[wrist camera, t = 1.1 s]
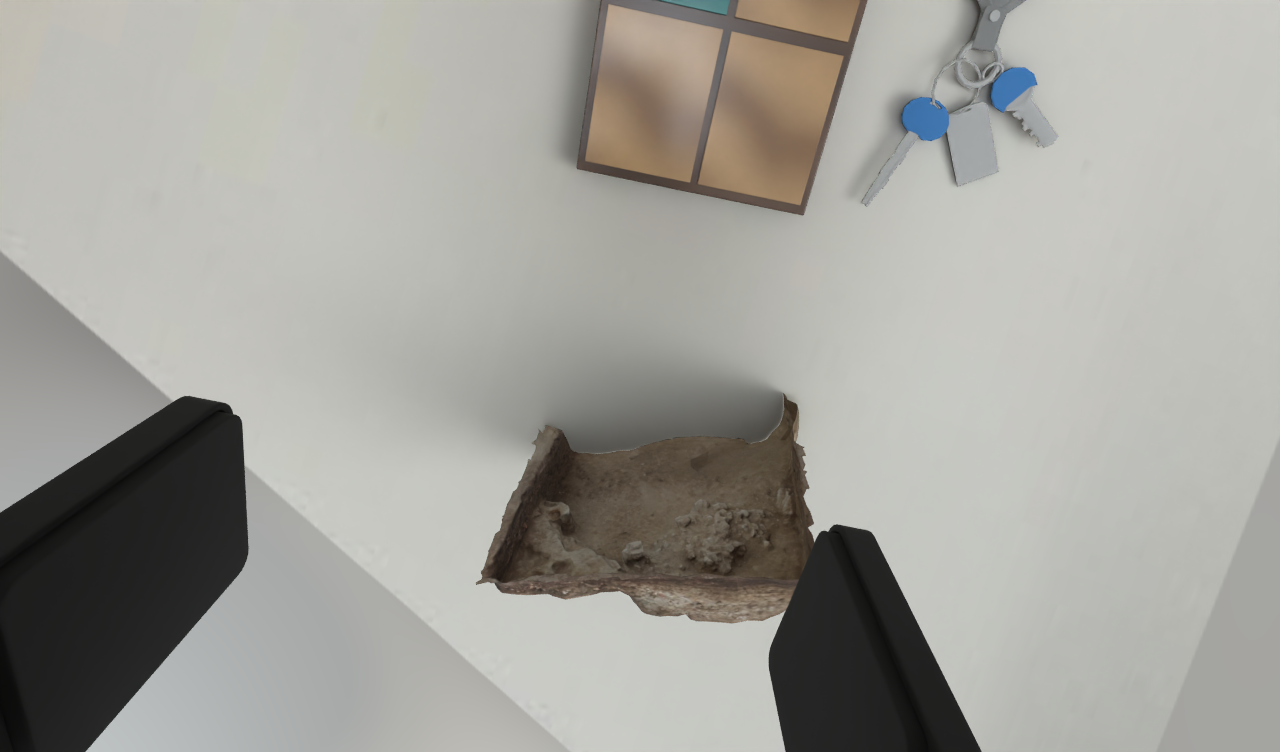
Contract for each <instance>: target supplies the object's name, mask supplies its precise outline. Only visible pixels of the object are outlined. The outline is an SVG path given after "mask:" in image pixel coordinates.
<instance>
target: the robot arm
mask: <svg viewBox="0 0 1280 752" xmlns="http://www.w3.org/2000/svg"><path fill="white" fill-rule="evenodd" d="M247 556H248V530H247V510H246V490H245V470H244V450H243V430H242V421H241V419H240V417H239V416H237V415H234V414H233V412H232V409H231V407H230V406H229V405H227V404H226V403H222V402H217V401H212V400H206V399H201V398H196V397H191V396H184V397H181V398H179V399H177V400H176V401H174V402H172V403H171V404H170V405H168V406H166V407H165V408H163V409H162V410H160V411H159V412H157V413H155V414H154V415H152V416H151V417H149V418H148V419H146V420H144V421H143V422H141V423H140V424H138V425H137V426H135V427H133V428H132V429H130V430H129V431H127V432H126V433H124V434H123V435H121V436H119V437H118V438H116V439H115V440H113V441H112V442H110V443H108V444H107V445H106V446H104V447H102V448H101V449H99V450H97V451H96V452H95V453H93V454H91V455H90V456H88V457H87V458H85V459H83V460H82V461H80V462H79V463H77V464H76V465H74V466H72V467H71V468H69V469H68V470H66V471H65V472H63V473H62V474H60V475H58V476H57V477H55V478H54V479H52V480H51V481H49V482H47V483H46V484H44V485H43V486H41V487H40V488H38V489H37V490H35V491H33V492H32V493H30V494H29V495H27V496H26V497H24V498H23V499H21V500H19V501H18V502H16V503H15V504H13V505H12V506H10V507H9V508H7V509H5V510H4V511H2V512H1V513H0V752H85V751H86V750H87V749H88V748H89V747H90V746H91V745H92V744H93V742H94V741H95V740H96V739H97V738H98V737H99V735H100V734H101V733H102V732H103V731H104V730H105V728H106V727H107V726H108V725H109V724H110V723H111V722H112V720H113V719H114V718H115V717H116V716H117V715H118V713H119V712H120V711H121V710H122V709H123V708H124V706H125V705H126V704H127V703H128V702H129V701H130V699H131V698H132V697H133V696H134V695H135V694H136V693H137V691H138V690H139V689H140V688H141V687H142V686H143V685H144V683H145V682H146V681H147V680H148V679H149V678H150V676H151V675H152V674H153V673H154V672H155V671H156V669H157V668H158V667H159V666H160V665H161V664H162V663H163V661H164V660H165V659H166V658H167V657H168V656H169V654H170V653H171V652H172V651H173V650H174V649H175V647H176V646H177V645H178V644H179V643H180V642H181V641H182V639H183V638H184V637H185V636H186V635H187V634H188V633H189V631H190V630H191V629H192V628H193V627H194V625H195V624H196V623H197V622H198V621H199V620H200V619H201V617H202V616H203V615H204V614H205V613H206V612H207V610H208V609H209V608H210V607H211V606H212V605H213V604H214V602H215V601H216V600H217V599H218V598H219V597H220V595H221V594H222V593H223V592H224V591H225V590H226V589H227V587H228V586H229V585H230V584H231V583H232V582H233V581H234V579H235V578H236V577H237V576H238V575H239V573H240V572H241V571H242V568H243V567H244V565H245V562H246V560H247ZM769 671H770V676H771V681H772V686H773V691H774V696H775V701H776V706H777V711H778V716H779V721H780V726H781V731H782V736H783V741H784V746H785V751H786V752H981V749H980V747H979V745H978V743H977V741H976V739H975V737H974V735H973V733H972V731H971V729H970V727H969V725H968V723H967V721H966V719H965V717H964V715H963V713H962V711H961V709H960V707H959V705H958V703H957V701H956V699H955V697H954V695H953V693H952V691H951V689H950V687H949V685H948V683H947V681H946V679H945V677H944V675H943V673H942V671H941V669H940V667H939V665H938V663H937V661H936V659H935V657H934V655H933V653H932V651H931V649H930V647H929V645H928V643H927V641H926V639H925V637H924V635H923V633H922V631H921V629H920V627H919V625H918V623H917V621H916V619H915V617H914V615H913V613H912V611H911V609H910V607H909V605H908V603H907V601H906V599H905V597H904V595H903V593H902V591H901V589H900V587H899V585H898V583H897V581H896V579H895V577H894V575H893V573H892V571H891V569H890V567H889V565H888V563H887V561H886V559H885V557H884V555H883V553H882V551H881V549H880V547H879V545H878V543H877V541H876V539H875V537H874V535H873V534H872V533H871V532H870V531H868V530H863V529H857V528H852V527H847V526H842V525H833V526H832V527H831V528H830V530H829V532H827V531H821V532H820V533H819V535H818V536H817V538H816V541H815V543H814V545H813V548H812V550H811V553H810V555H809V557H808V560H807V562H806V564H805V567H804V569H803V571H802V574H801V576H800V578H799V581H798V583H797V585H796V588H795V590H794V592H793V595H792V597H791V600H790V602H789V604H788V607H787V609H786V611H785V614H784V616H783V618H782V621H781V623H780V625H779V628H778V630H777V632H776V635H775V637H774V639H773V642H772V644H771V647H770V652H769Z"/></svg>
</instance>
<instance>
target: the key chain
mask: <svg viewBox="0 0 1280 752" xmlns="http://www.w3.org/2000/svg"><path fill="white" fill-rule="evenodd" d="M1024 1H1026V0H977V2H978V4H979V6H980V9H981V13H980V16H979V20H978V24H977V27H976V29H975V32H974V34H973V37H972V39H971V41H970V42H969V43H968V44H966V45H965V46H963V48H962V49H961V51H960V52H959V54H958V55H957V57H956V60H953V61H952V62H950V63H949V64H947V65H946V66H945V67H943V68H942V70H941V71H940V73H939V74H938V75H937V77H936V78H935V81H934V84H933V88H932V92H931V94H932V98H924V97H920V98H917V99H914V100H912V101H910V102H909V103H908V104H907V105H906V106H905V108H904V110H903V113H902V124H903V125H904V127H905V129H906V130H908V132H907V134H906V135H905V137H904V138H903V140H902V141H901V142H900V144H899V145H898V147H897V148H896V151H895V153H894V154H893V156H892V157H891V158H889V159H888V161H887V162H886V164H885V165H884V167H883V168H882V169H881V171H880V172H879V175H878V177H877V178H876V180H875V181H874V183H873V184H872V186H871V187H870V189H869V191H868V192H867V194H866V195H865V197H864V199H863V200H862V202H861V203H862V204H864V205H865V206H868V205H869V203H870V202H871V201H872V200H873V199H874V197H875V196H876V195H877V194H878V192H879V191H880V190H881V189H883V188H884V186H885V185H886V183H887V182H888V181H889V177H890V176H891V175H892V173H893V172H894V170H895V169H896V168H897V166H898V165H900V164H901V162H902V161H903V160H904V158H905V157H906V156H905V155H906V154H907V152H908V151H909V149H910V148H911V147H912V145H913V144H914V142H915V141H916V140H917V138H918V137H919V138H920V139H921V140H927V141H932V140H935V139H938V138H940V137H941V136H942V135H943V134H944V133H945V132H946V131H947V136H948V141H949V147H950V152H951V157H952V162H953V167H954V172H955V177H956V182H957V187H958V186H961V185H964V184H967V183H969V182H972V181H975V180H977V179H980V178H983V177H986V176H988V175H991V174H994V173H997V172H999V170H998V164H997V158H996V153H995V147H994V141H993V135H992V129H991V123H990V117H989V111H988V106H987V104H985V103H983V102H979V103H975V104H973V103H974V102H975V101H976V99H977V98H978V95H979V92H980V89H981V87H983V86H985V85H986V84H988V83H991V82H994V81H995V82H994V83H993V85H992V89H991V94H990V97H991V100H992V103H993V106H994V107H995V108H997V109H998V110H1000V111H1001V112H1003V113H1004V111H1015V112H1014V113H1013V114H1012V116H1013V117H1014V118H1015V117H1017V118H1018V120H1020V119H1021V118H1022V119H1023V120H1024V121H1023V122H1022V123H1021V124H1022V125H1023V127H1022V129H1023V130H1024V131H1026V130H1027V129H1028V128H1030V130H1031V131H1030V132H1029V135H1030V136H1031V137H1032V136H1033V135H1035V137H1036V138H1037V139H1038V142H1036V144H1037V146H1038V147H1039V146H1040V145H1042V146H1043V147H1044V148H1045V147H1047V146H1050V145H1052V144H1053V143H1054V142H1055V141H1056V139H1057V138H1058V137H1059V136H1058V135H1057V134H1056V132H1055V131H1054V129H1053V128H1052V127H1051V125H1050V124H1049V122H1048V121H1047V120H1046V118H1045V117H1044V116H1043V114H1042V113H1041V111H1040V110H1039V109H1038V107H1037V106H1036V104H1035V103H1034V102H1033V100H1032V96H1033V92H1034V88H1035V85H1037V82H1036V79H1035V76H1034V74H1033V73H1032V72H1030V71H1029V70H1028V69H1026V68H1010V69H1008V70H1007V71H1005V72H1003V71H1004V65H1003V64H1002V63H1001V61H1002V56H1001V50H1000V47H999V46H998V45H997V44H996V43H997V40H998V36H999V33H1000V29H1001V26H1002V24H1003V21H1004V19H1005V17H1006V14H1007V13H1009V12H1010V11H1011V10H1013V9H1014V8H1016V7H1017V6H1018V5H1020V4H1021V3H1023V2H1024ZM972 48H973V49H978V50H984V51H989V52H992V51H993V52H994V57H995V62H993V63H991V64H989V65H988V66H986V68H985V69H984V70H983V72H982V75H981V71H980V69H979V68H978V66H977V65H976V63H975V62H973V61H971V60H969V59H966V58H964V59H963V57H964V56H965V55H966V53H967V52H968V51H969V50H970V49H972ZM964 61H965V62H967V63H969V64H971V65H973V66H974V67H975V69H976V71H977V72H978V74H979V81H974V82H973V81H970V80H967V79H966V78H965V76H964V75H963V74H962V69H961V64H962V62H964ZM954 63H955V66H954V70H955V75H956V79H957V80H958V81H959V82H960V83H961V84H962V86H965V87H968V88H971V89H974V88H978V91H977V94H976V97H975V98H974V99H973V101H972V102H971V104H970V105H969V106H966V107H964V108H961V109H959V110H957V111H955V112H953V113H951V114H948V112H947V110H946V108H945V107H944V106H943V105H942V104H941V103H940V102H939V101H937V100H935V96H934V90H935V87H936V83H937V80H938V78H939V77H940V76H941V74H942V73H943V71H944V70H945V69H946V68H948V67H949V66H951V65H952V64H954ZM993 65H994V67H993V69H992V71H991V72H990V74H989V75H988V76H987V77H985V76H984V75H985V72H986V71H987V70H988V69H989V68H990V67H991V66H993ZM1000 68H1001V70H1000V73H999V74H998V75H997V76H996V74H997V73H998V71H999V69H1000ZM995 76H996V77H995ZM994 77H995V78H994ZM931 101H932V103H933V105H931V104H930V102H931ZM936 104H938V105H939V106H940V107H941V108H940V109H939V108H938V106H937V105H936ZM970 108H971V110H969V111H967V110H968V109H970ZM960 111H961V112H960ZM965 111H967V112H965Z"/></svg>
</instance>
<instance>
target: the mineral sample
mask: <svg viewBox="0 0 1280 752" xmlns="http://www.w3.org/2000/svg"><path fill="white" fill-rule="evenodd" d="M783 396H784V413H783V418H782V421H781V423H780V425H779V426H778V427H777V428H776V429H775V430H774V431H773V432H772V433H771V435H770V436H769V437H768V438H767V439H766V440H764V441H762V442H756V443H752V444H748V443H745V441H744V439H739V438H738V439H731V438H720V437H704V436H698V437H678V438H673V439H667V440H663V441H660V442H655V443H650V444H646V445H644V446H641V447H639V448H637V449H634V450H630V451H616V452H611V453H603V454H590V453H578V452H574V451H573V450H572V449H571V448H570V446H569V443H568V441H567V439H566V437H565V435H564V433H563V431H562V430H559V429H556V428H552V427H549V426H546V425H545V430H544V432H543V433H542V432H541V431H540V430H539V434H538V437H537V440H535V441H534V442H532V443H533V444H535V445H536V450H535V452H534V454H533V456H532V459H531V460H530V459H528V464H527V467H526V469H525V472H524V474H523V477H522V479H521V481H520V482H519V485H518V488H517V489H516V490H515V491H513V493H512V496H511V499H510V501H509V502H508V504H507V507H506V511H505V514H504V516H502V517H503V519H502V525H501V529H500V531H499V532H497V533H496V534H495V536H494V539H493V542H492V544H491V547H490V549H489V551H488V552H489V554H488V557H487V560H486V563H485V566H484V569H483V570H482V571H481V574H482V579H481V580H480V581H478V582H476V585H477V584H481V583H485V582H490V583H495V585H496V587H497V588H498V589H499V590H500V591H501V592H502V593H508V594H517V595H537V594H550V595H552V596H555V597H558V598H562V599H571V598H577V597H582V596H588V595H593V594H597V593H600V592H615V591H621V592H623V593H625V594H627V595H629V596H630V597H631V598H632V600H633V602H634V603H635V604H637V606H638V607H639V608H640V610H641V611H642V612H644V613H646V614H649V615H655V616H680V615H684V614H686V615H687V616H688V617H689V618H690V619H691V620H695V621H709V622H723V623H737V622H742V621H747V620H750V621H763V620H765V619H768V618H770V617H773V616H775V615H778V614H780V613H782V612H784V611H785V610H786V609H787V607H788V604H789V602H790V600H791V597H792V595H793V592H794V590H795V588H796V585H797V583H798V581H799V578H800V576H801V574H802V571H803V569H804V567H805V564H806V562H807V560H808V557H809V555H810V553H811V550H812V548H813V545H814V540H813V536H812V534H811V532H810V530H809V529H808V527H809V526H811V525H813V524H814V522H813V519H812V516H811V513H810V511H809V509H808V507H807V506H806V503H805V500H804V497H803V496H804V494H805V491H806V489H809V485H808V482H807V480H806V477H805V474H806V472H807V471H803V469H804V466H805V463H804V461H803V458H802V456H806V455H805V452H804V450H803V448H804V447H802V446H800V445H799V444H797V443H796V440H797V436H798V429H799V411H798V407H797V404H796V403H793V402H791V401H789V400H787V398H786V396H785V394H784V393H783Z"/></svg>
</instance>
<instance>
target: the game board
mask: <svg viewBox="0 0 1280 752" xmlns="http://www.w3.org/2000/svg"><path fill="white" fill-rule="evenodd" d="M866 4H867V0H601V4H600V10H599V17H598V24H597V31H596V38H595V45H594V52H593V58H592V65H591V72H590V79H589V86H588V93H587V100H586V106H585V113H584V120H583V127H582V134H581V141H580V148H579V154H578V161H577V169H579V170H584V171H589V172H594V173H599V174H604V175H609V176H614V177H618V178H623V179H628V180H633V181H638V182H643V183H648V184H652V185H657V186H662V187H667V188H672V189H677V190H682V191H687V192H691V193H696V194H701V195H706V196H711V197H716V198H721V199H726V200H730V201H735V202H740V203H745V204H750V205H755V206H760V207H765V208H769V209H774V210H779V211H784V212H789V213H794V214H799V215H804V213H805V209H806V206H807V203H808V199H809V196H810V193H811V189H812V186H813V182H814V179H815V176H816V172H817V169H818V166H819V162H820V159H821V155H822V152H823V149H824V145H825V142H826V139H827V135H828V132H829V128H830V125H831V122H832V118H833V115H834V112H835V108H836V105H837V101H838V98H839V95H840V91H841V88H842V85H843V81H844V78H845V75H846V71H847V68H848V64H849V61H850V58H851V54H852V51H853V48H854V44H855V41H856V37H857V34H858V31H859V27H860V24H861V21H862V17H863V14H864V10H865V7H866Z"/></svg>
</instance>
